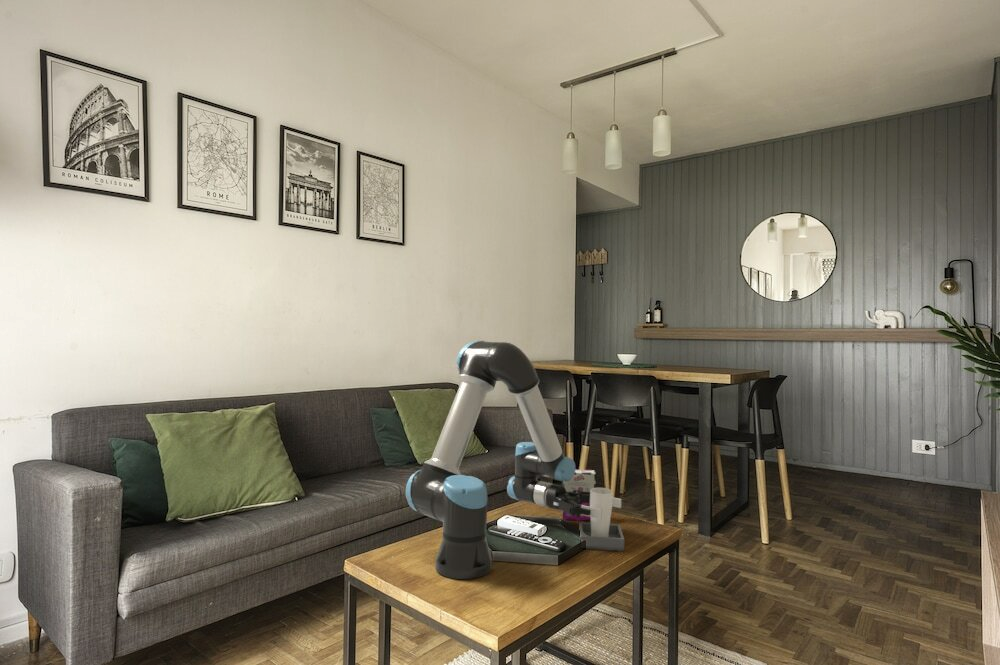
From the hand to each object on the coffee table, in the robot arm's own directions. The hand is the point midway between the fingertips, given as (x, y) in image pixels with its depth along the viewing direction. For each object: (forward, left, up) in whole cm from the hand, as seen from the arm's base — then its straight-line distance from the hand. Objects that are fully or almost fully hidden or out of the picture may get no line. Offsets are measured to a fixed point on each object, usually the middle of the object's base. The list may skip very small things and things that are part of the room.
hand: (611, 508), depth 168 cm
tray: (-3, +2, -11) cm, 11 cm away
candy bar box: (-9, +23, -11) cm, 27 cm away
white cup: (-3, +1, -10) cm, 11 cm away
